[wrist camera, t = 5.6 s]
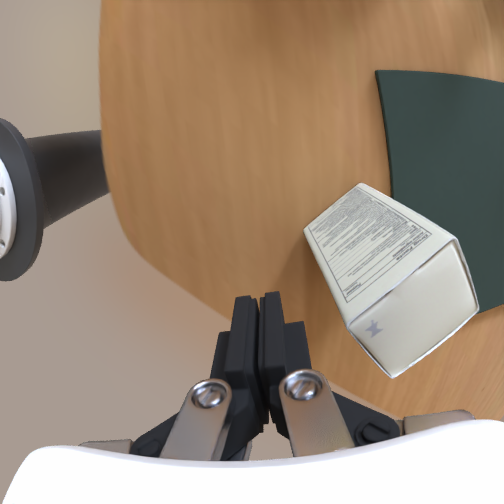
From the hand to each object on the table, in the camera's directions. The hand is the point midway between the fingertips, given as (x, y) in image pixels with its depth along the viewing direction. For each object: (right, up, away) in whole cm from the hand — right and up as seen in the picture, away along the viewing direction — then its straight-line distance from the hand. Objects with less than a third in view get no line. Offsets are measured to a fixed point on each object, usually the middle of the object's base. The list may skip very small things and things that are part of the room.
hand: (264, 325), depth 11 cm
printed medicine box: (+6, +4, +7) cm, 10 cm away
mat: (+17, +6, +6) cm, 19 cm away
